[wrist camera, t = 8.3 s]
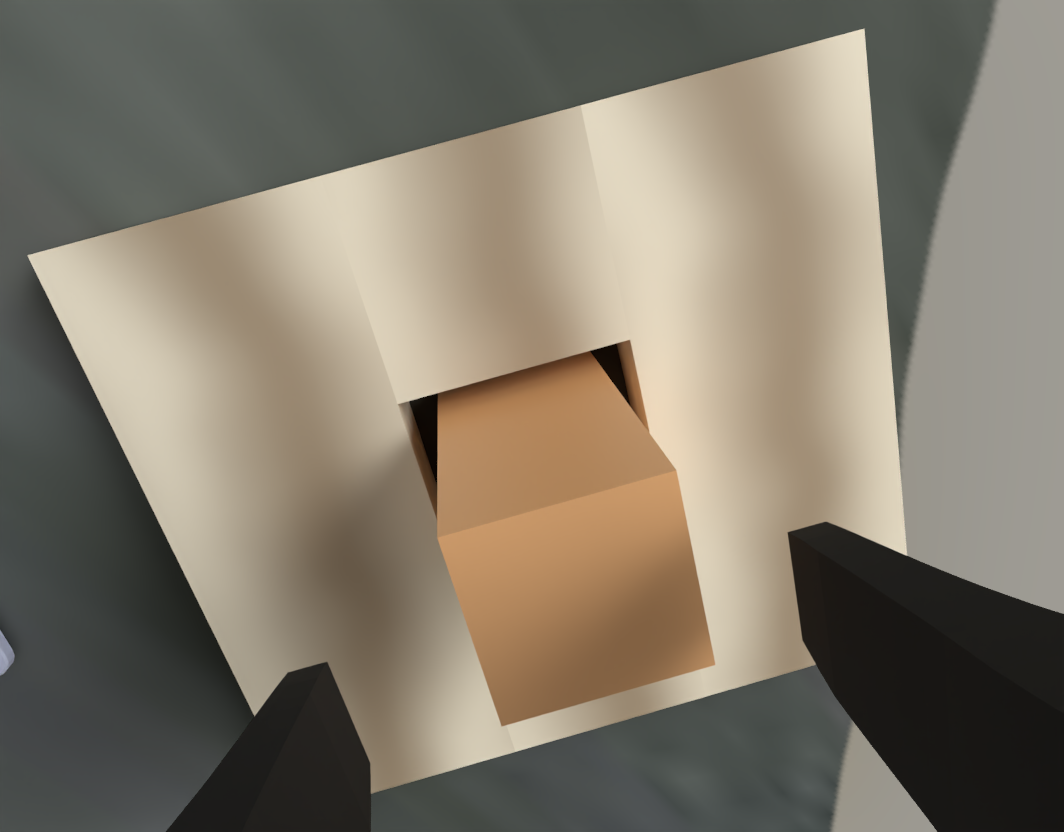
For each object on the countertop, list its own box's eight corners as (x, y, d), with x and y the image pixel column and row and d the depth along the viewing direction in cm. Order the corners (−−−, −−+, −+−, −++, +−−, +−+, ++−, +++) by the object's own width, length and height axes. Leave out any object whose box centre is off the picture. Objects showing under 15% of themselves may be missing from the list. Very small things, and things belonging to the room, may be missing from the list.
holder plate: (313, 759, 23) (302, 813, 21) (71, 243, 17) (27, 255, 16) (875, 596, 23) (913, 636, 22) (819, 40, 18) (864, 28, 16)
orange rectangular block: (479, 519, 21) (501, 726, 14) (437, 387, 20) (437, 538, 12) (617, 480, 21) (715, 665, 14) (586, 346, 20) (676, 470, 12)
